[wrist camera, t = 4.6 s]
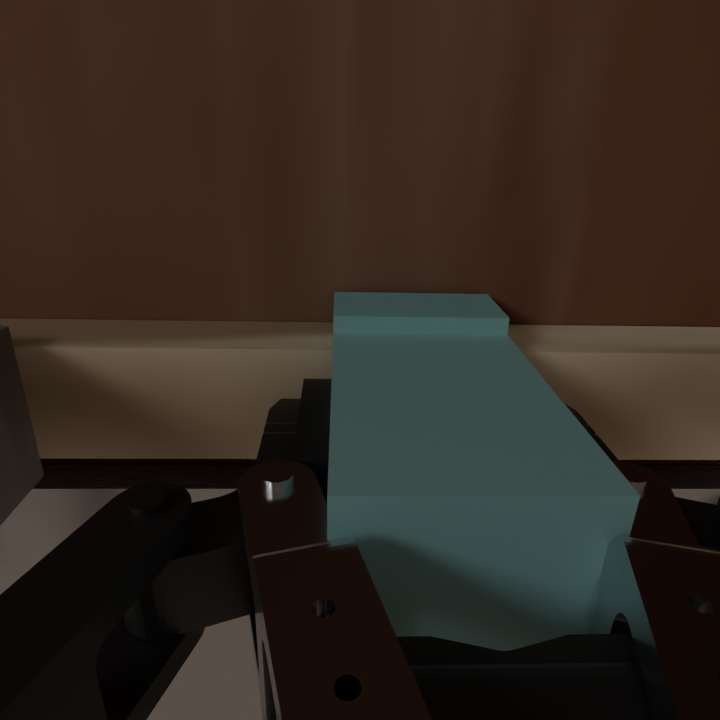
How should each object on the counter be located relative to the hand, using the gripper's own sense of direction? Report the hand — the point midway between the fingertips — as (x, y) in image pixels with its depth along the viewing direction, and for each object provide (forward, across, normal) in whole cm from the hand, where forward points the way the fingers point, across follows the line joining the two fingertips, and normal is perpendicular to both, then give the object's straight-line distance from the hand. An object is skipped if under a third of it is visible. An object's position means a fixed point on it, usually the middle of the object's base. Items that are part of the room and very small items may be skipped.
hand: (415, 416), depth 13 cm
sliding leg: (+2, 0, +4) cm, 4 cm away
